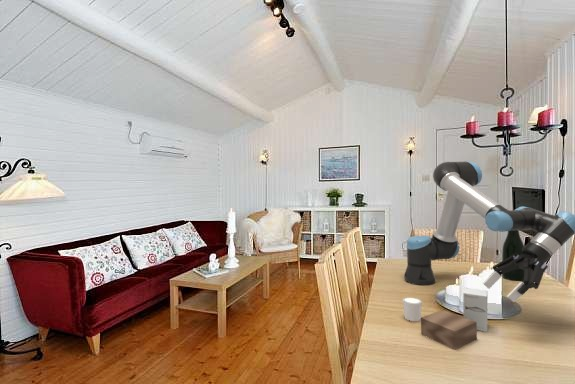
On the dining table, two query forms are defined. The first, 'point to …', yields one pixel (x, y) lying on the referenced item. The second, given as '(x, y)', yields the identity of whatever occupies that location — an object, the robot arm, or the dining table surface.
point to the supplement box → (476, 307)
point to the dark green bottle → (509, 247)
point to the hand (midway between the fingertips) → (497, 292)
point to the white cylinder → (412, 308)
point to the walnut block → (449, 329)
